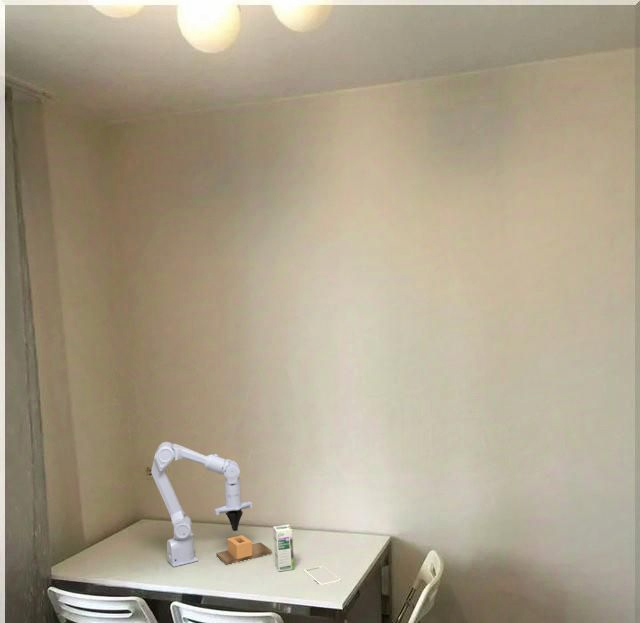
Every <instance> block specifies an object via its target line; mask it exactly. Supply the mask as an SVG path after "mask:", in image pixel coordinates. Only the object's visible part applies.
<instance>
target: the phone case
mask: <svg viewBox="0 0 640 623" xmlns="http://www.w3.org/2000/svg"><path fill="white" fill-rule="evenodd" d="M315 568H319V569H323V568H324V569H323V570H325V571H326V572H327V571H328V572H329V574H330V575H331V574H332V575H333V576H334V578H335V579H336V578H337V579H338V580H337V579H336V580H334V581H333V580H332V581H329V582H325V583H321V582H320V581H318V580H317V578H315V577H314V576H313V575H312V574H310V572H308V570H310V569H315ZM303 572H305V573H306V575H307V576H308V577H309V576H310V577H311V578H312V579H313V581H314V580H315V581H314V582H316V583H317V584H318V585H319V586H320V585H321V586H324V587H326V586H325V585H328V586H330V585H329V584H332V585H334V584H333V583H336V584H340V583H341V581H342V580H341V578H340V577H338V576H337V575H336V574H335V573H333V572H332V571H331V570H329V569H328V568H327V567H326V566H324V565H323V564H321V565H317V566H312V567H307V568H304V569H303ZM328 572H327V573H328ZM305 573H304V574H305ZM332 575H331V576H332ZM333 576H332V577H333ZM310 577H309V578H310ZM311 578H310V579H311ZM339 582H340V583H339ZM321 586H320V587H321Z"/></svg>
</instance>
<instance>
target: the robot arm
mask: <svg viewBox="0 0 640 623" xmlns="http://www.w3.org/2000/svg"><path fill="white" fill-rule="evenodd" d="M174 458H175V459H174ZM181 459H185V460H186V461H187V460H188V461H191V462H194V463H197V464H201V465H202V466H204V469H205V470H207V471H210V472H213V473H215V474H219V475H221V476H222V475H223V476H224V477H225V478H224V480H225V481H224V493H225V494H224V495H225V497H224V498H225V505H224V506H221V507H217V508H214V515H216V516H219V515H221V514H223V515H224V514H225V515H226V517H227V518H228V520H229V523H230V525H231V529H232V530H231V531H233V532H236V531H238V529H239V524H240V520H241V518H242V516H243V514H244V513H243V511H242V510H246V509H253V507H254V506H253V502H251V501H243V502H242V494H241V492H242V491H241V481H240V479H241V478H240V475H241V469H240V466H239V464H238V462H236V461H234V460H233V459H229V458H226V459H225V458H222V457H220V456H219V454H216V453H214V454H208V455H205V454H202V453H199V452H198V451H195V450H192V449H191V448H188V447H185V446H182V445H180V444H178V443H172V442H170V441H163V442H161V444H159V445H158V447H157V449H156V450H155V454H154V457H153V462H152V465H151V466H152V467H151V471H150V472H151V476H152V478H153V480H154V482H155V484H156V487H157V489H158V491H159V493H160V496H161V497H162V500H163V503H164V504H165V507H166V510H167V511H168V513H169V516H170V519H171V524H172V525H173V537H172V538H170V539H168V540H167V541H166V552H167V560H166V561H167V562H168V563H169V564H170V565H171V566H172V567H173V568H174V567H178V566H183V565H186V564H187V565H188V564H191V563H195V562H198V561H199V559H198V558H197V557H196V556H195V545H194V543H195V542H194V533H193V532H192V525H193V524H192V519H191V518H190V516H188V515H187V514H186V513H185V511H184V509H183V507H182V505H181V504H180V503H181V502H180V501H179V499H178V496H177V495H176V491H175V489H174V488H173V486H172V483H171V481H170V478H169V476H168V474H167V472H166V470H167V468H168V466H169V465H170V464H171V462H172V461H173V460H174V461H178V460H181Z"/></svg>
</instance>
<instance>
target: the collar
mask: <svg viewBox="0 0 640 623" xmlns="http://www.w3.org/2000/svg"><path fill="white" fill-rule="evenodd" d="M237 541H240V542H242V543H239V542H237ZM252 544H253V542H252V541H251V540H250V539H249V538H247V537H246V536H244V535H243V534H241V535H236V536H233V537H229V538H227V550H228V552H229V553H230V554H231V555H233V556H234V557H235V558H237V559H240V558H244V557H248V556H252Z"/></svg>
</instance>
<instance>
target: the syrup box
mask: <svg viewBox="0 0 640 623" xmlns="http://www.w3.org/2000/svg"><path fill="white" fill-rule="evenodd" d="M272 529H273V530H272V531H273V543H274V544H273V546H274V547H273V548H274V562H275V567H277V568H276V569H277V571H278V572H279V571H281V572H286V571H292V570H295V560H294V559H295V556H294V542H293V540H294V538H293V529H292V527H291V525H290V524H283V525H277V526H272Z"/></svg>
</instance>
